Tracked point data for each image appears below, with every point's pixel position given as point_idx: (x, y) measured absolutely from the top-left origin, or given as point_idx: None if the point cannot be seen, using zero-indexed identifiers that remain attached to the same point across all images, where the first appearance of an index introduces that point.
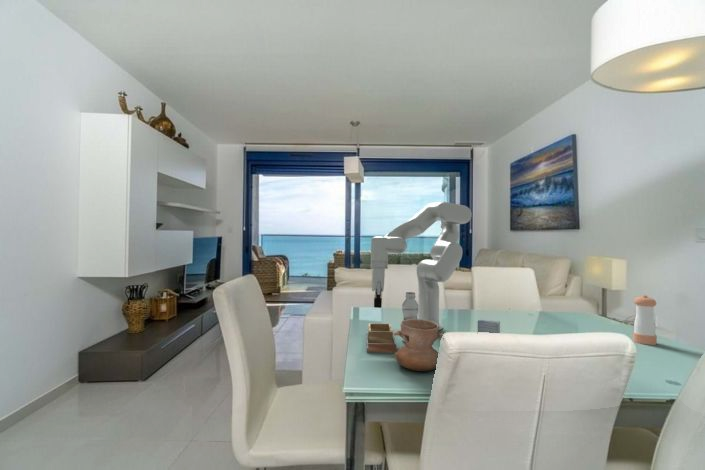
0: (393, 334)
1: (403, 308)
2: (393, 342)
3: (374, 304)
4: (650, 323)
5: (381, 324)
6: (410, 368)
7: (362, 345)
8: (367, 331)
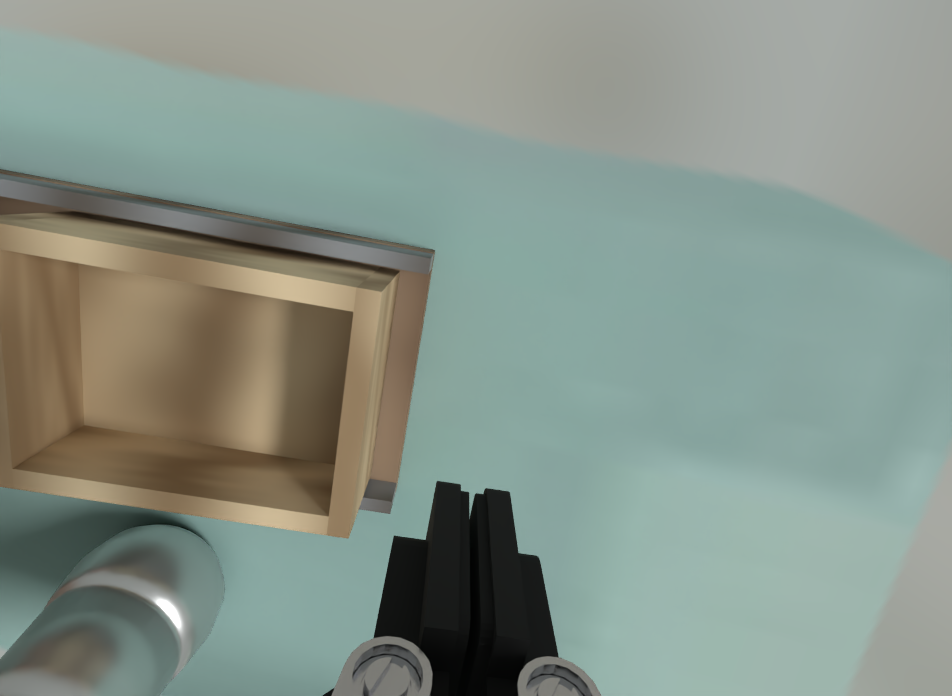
0: None
1: None
2: None
3: (433, 517)
4: None
5: (339, 439)
6: None
7: (89, 147)
8: (356, 259)
